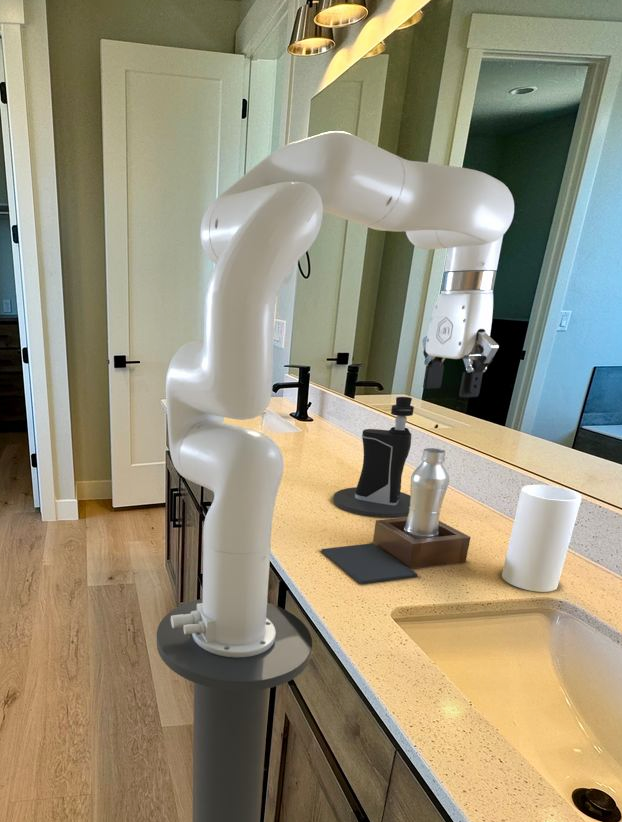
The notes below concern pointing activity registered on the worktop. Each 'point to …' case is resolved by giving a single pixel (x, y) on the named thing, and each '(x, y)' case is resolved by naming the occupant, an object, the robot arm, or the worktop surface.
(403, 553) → the brown wooden box
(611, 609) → the worktop surface
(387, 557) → the mat
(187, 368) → the robot arm
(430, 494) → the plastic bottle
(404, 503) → the vape
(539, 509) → the cup
